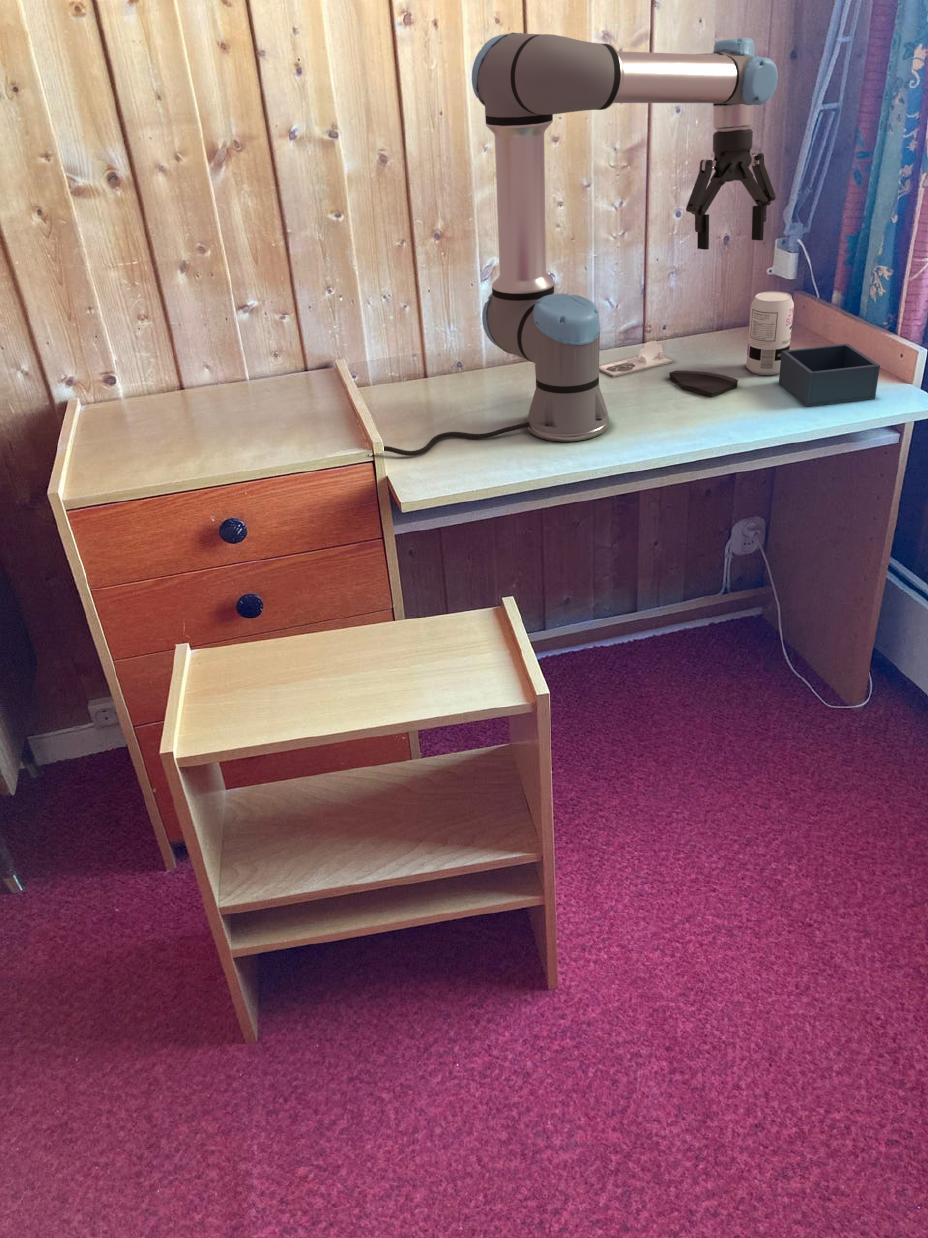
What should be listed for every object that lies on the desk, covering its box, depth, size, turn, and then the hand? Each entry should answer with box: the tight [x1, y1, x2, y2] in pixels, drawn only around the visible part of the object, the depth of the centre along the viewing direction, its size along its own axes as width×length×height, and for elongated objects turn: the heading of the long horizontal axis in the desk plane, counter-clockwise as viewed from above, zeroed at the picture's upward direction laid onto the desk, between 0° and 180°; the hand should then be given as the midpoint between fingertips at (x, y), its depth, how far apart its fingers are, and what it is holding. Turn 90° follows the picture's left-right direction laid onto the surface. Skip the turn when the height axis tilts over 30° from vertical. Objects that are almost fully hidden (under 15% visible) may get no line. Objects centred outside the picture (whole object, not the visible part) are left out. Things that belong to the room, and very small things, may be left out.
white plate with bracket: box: [599, 340, 673, 378], centre depth 222 cm, size 15×7×4 cm, turn 117°
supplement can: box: [745, 291, 795, 376], centre depth 212 cm, size 8×8×15 cm
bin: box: [778, 343, 881, 408], centre depth 202 cm, size 14×14×7 cm
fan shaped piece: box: [668, 370, 739, 398], centre depth 210 cm, size 8×14×2 cm, turn 36°
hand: (730, 244), depth 212 cm, fingers open, 13 cm apart
